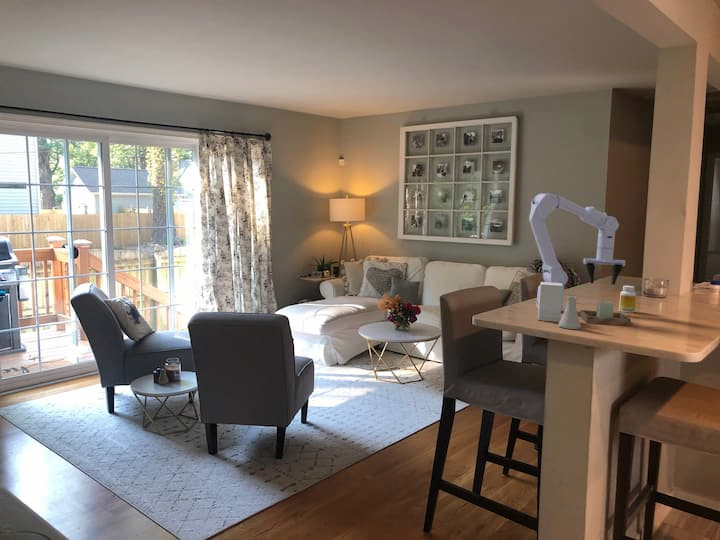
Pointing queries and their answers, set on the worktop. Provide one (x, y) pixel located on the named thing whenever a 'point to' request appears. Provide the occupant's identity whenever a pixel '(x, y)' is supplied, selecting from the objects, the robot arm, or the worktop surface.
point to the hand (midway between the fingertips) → (602, 283)
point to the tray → (605, 318)
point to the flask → (570, 315)
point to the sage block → (604, 309)
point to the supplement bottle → (627, 299)
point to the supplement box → (550, 301)
